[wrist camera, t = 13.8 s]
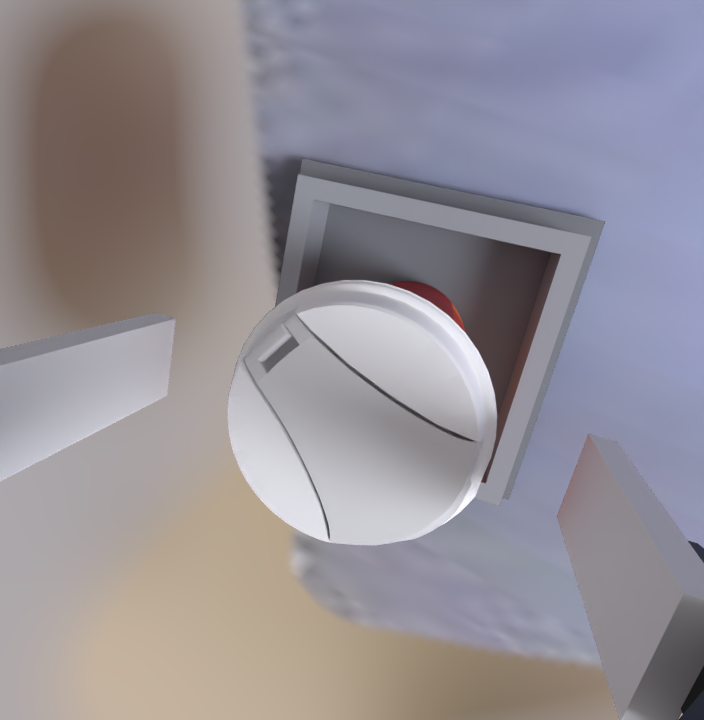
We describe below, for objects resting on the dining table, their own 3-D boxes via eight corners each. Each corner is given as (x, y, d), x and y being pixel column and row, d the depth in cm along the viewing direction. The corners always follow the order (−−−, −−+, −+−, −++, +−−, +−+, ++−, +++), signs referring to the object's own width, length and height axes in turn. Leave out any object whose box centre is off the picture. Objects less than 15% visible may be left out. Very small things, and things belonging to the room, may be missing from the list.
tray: (308, 161, 28) (282, 148, 24) (600, 222, 25) (623, 219, 21) (263, 416, 32) (235, 440, 29) (507, 491, 30) (512, 528, 26)
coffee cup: (310, 323, 29) (157, 405, 15) (418, 227, 26) (358, 215, 12) (401, 431, 29) (337, 613, 15) (517, 347, 27) (571, 471, 12)
